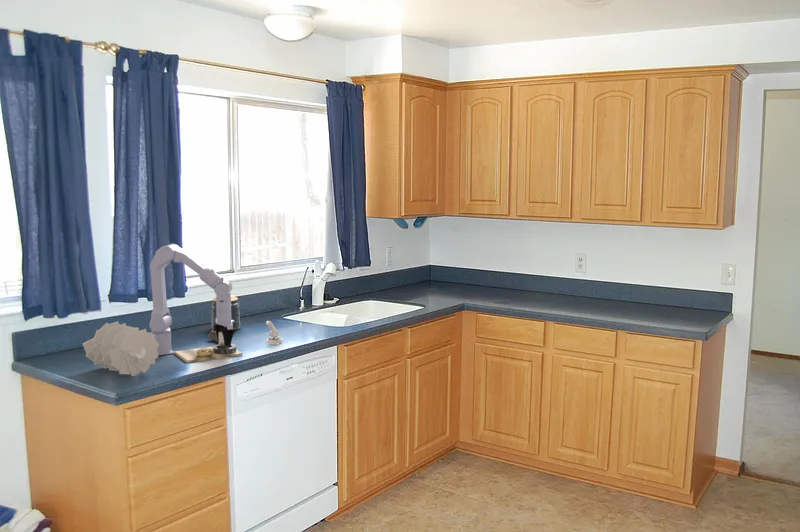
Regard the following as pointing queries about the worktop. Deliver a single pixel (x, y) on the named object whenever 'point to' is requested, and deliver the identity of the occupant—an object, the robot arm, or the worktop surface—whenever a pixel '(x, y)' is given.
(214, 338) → the pipe
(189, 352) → the fitting board
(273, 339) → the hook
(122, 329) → the spiral staircase
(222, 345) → the pipe stub
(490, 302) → the worktop surface
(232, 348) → the socket large
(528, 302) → the worktop surface
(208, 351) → the plug small
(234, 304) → the canister
